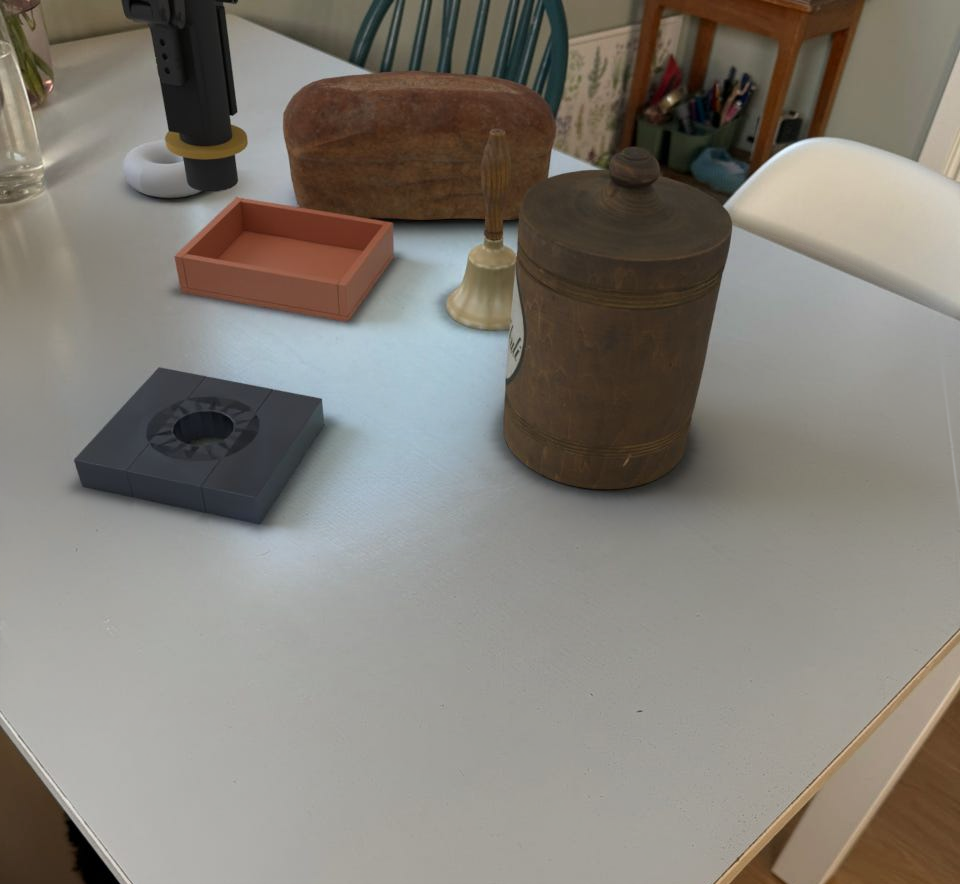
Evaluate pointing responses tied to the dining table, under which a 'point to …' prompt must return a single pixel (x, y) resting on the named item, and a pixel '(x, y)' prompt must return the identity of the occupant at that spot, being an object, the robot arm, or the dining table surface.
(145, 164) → the donut
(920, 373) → the dining table surface
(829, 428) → the dining table surface
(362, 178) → the bread
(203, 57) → the plug
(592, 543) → the dining table surface
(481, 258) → the hand bell
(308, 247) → the terracotta tray
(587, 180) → the wooden container
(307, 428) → the drain plate
